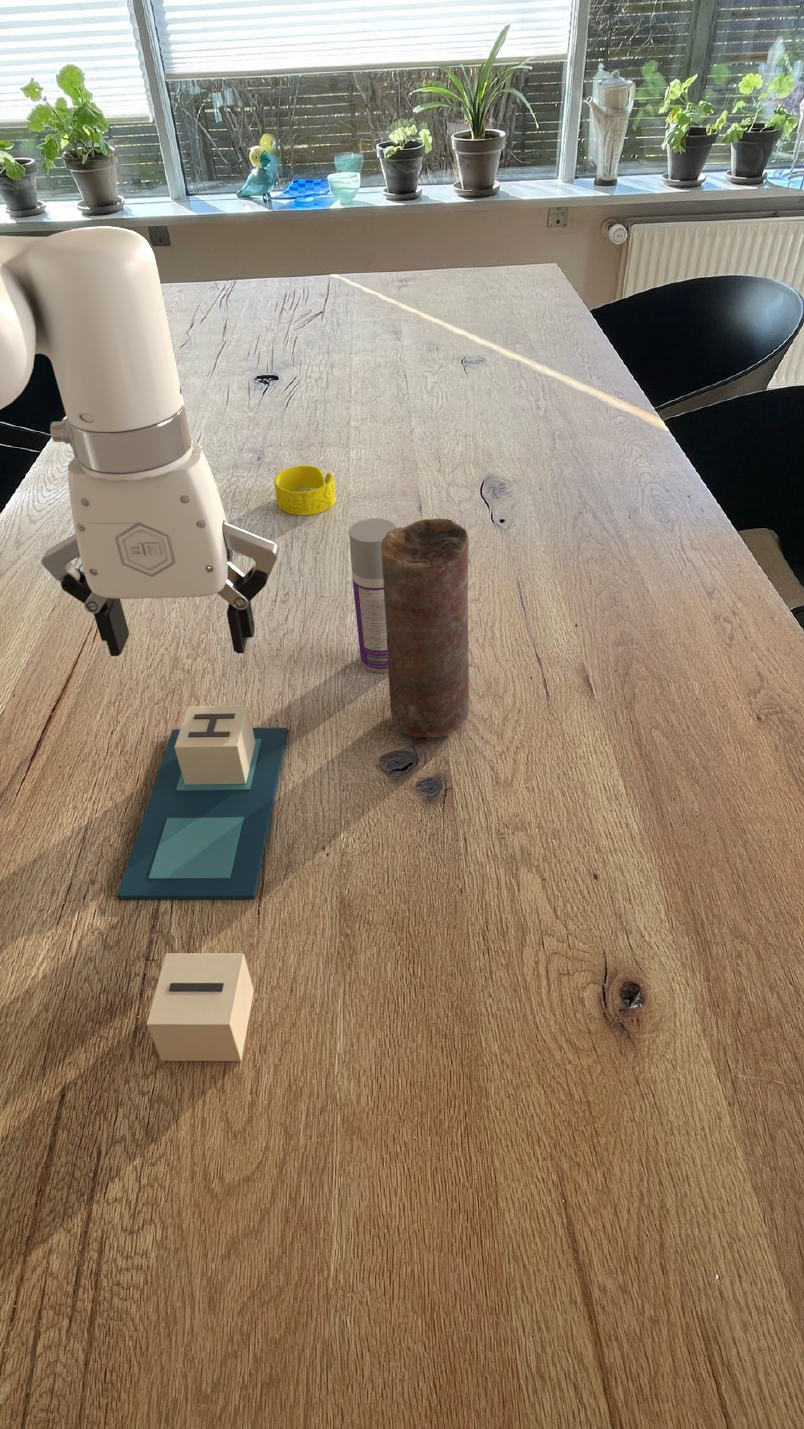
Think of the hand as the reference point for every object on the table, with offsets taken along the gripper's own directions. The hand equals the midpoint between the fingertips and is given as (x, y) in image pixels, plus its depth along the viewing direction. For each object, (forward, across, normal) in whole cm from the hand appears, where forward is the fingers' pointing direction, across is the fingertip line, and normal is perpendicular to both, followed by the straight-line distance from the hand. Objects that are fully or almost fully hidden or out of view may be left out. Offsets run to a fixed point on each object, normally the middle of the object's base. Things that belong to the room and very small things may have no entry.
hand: (181, 644), depth 74 cm
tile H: (+15, 0, +2) cm, 15 cm away
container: (+16, +14, +18) cm, 28 cm away
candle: (+16, +19, +8) cm, 26 cm away
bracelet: (+16, +3, +53) cm, 56 cm away
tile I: (+16, +4, -24) cm, 29 cm away
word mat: (+16, 0, -3) cm, 16 cm away
